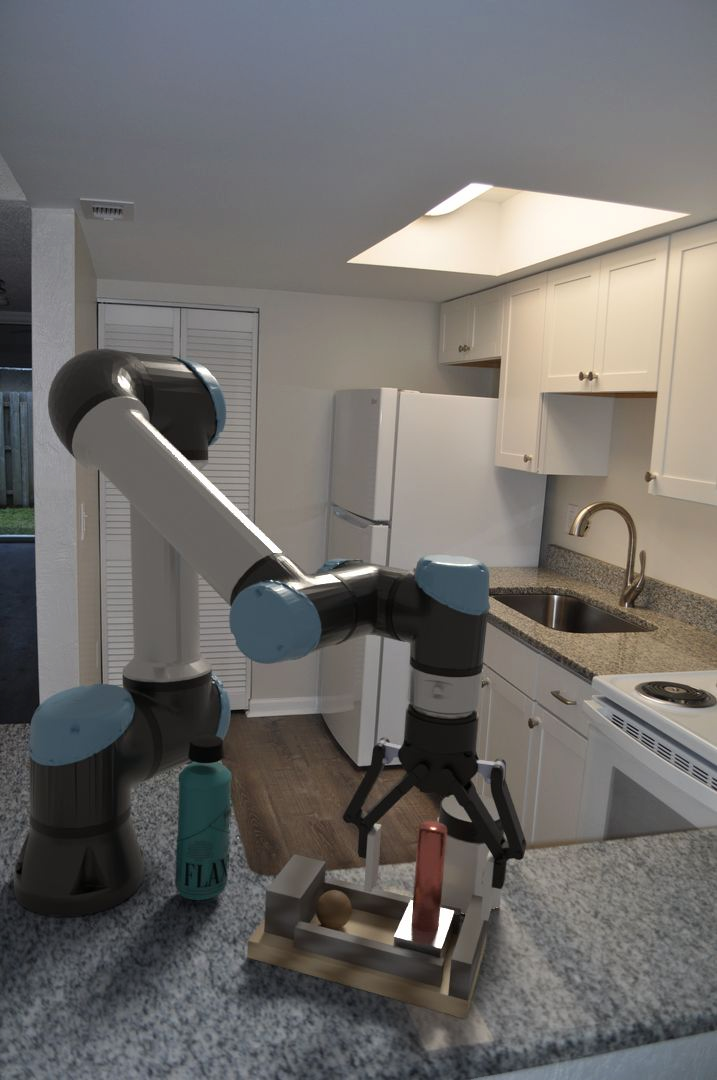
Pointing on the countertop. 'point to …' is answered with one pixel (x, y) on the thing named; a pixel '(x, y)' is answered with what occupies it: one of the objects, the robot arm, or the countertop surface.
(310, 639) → the robot arm
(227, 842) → the beverage bottle
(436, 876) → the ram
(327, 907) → the nut
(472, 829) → the jar
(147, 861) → the countertop surface
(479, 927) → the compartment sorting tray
